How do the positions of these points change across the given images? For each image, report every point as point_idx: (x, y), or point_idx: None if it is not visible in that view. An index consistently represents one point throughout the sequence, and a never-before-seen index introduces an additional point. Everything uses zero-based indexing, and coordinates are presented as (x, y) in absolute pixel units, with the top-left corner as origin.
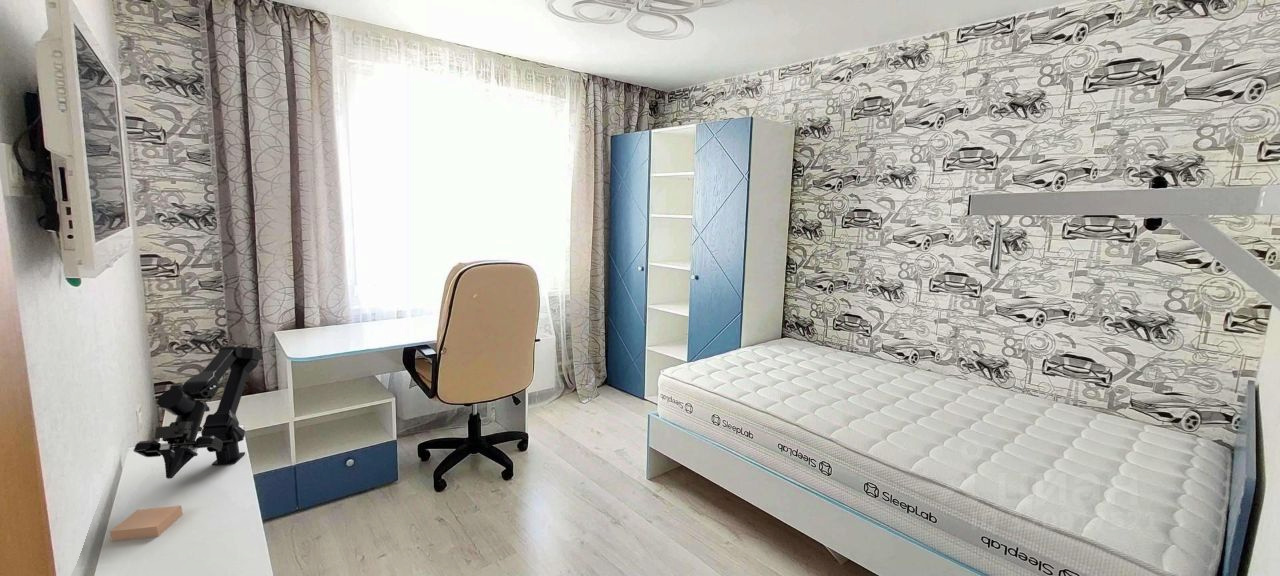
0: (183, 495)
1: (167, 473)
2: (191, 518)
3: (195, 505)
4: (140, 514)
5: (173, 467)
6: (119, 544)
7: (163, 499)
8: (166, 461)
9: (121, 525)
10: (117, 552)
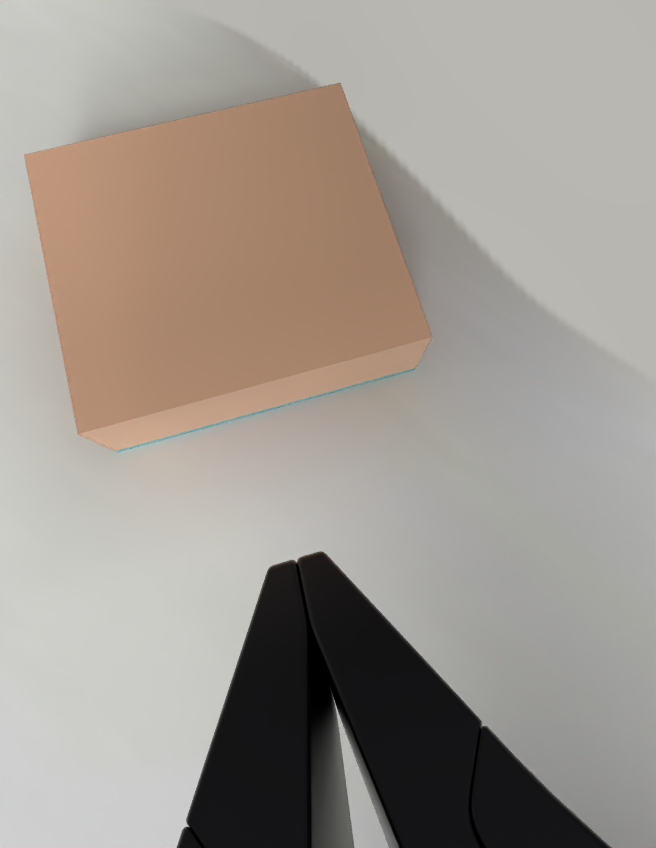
0: None
1: (324, 594)
2: (6, 417)
3: (130, 593)
4: (328, 280)
5: (234, 718)
6: None
7: (520, 655)
8: (524, 846)
9: (326, 143)
10: (190, 70)
